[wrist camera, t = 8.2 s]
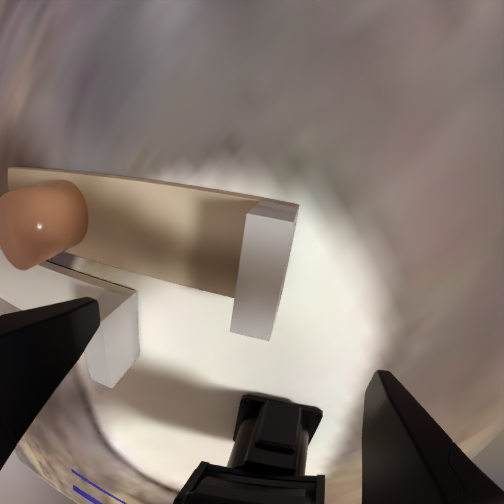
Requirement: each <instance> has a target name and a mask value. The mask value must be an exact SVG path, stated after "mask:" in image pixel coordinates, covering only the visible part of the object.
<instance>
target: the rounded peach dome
mask: <svg viewBox="0 0 504 504" xmlns="http://www.w3.org/2000/svg"><path fill="white" fill-rule="evenodd" d="M87 229H88V209H87V205H86V202H85V199H84V197H83V195H82V193H81V191H80V190H79V188H78V187H77V186H76V185H75V184H73V183H72V182H70V181H68V180H57V181H52V182H48V183H43V184H39V185H34V186H30V187H26V188H22V189H18V190H14V191H10V192H6V193H4V194H3V195H2V196H1V198H0V247H1V249H2V251H3V253H4V255H5V257H6V258H7V260H8V261H9V262H10V263H11V264H12V265H13V266H14V267H15V268H17V269H19V270H23V271H24V270H28V269H30V268H32V267H34V266H36V265H38V264H40V263H42V262H43V261H45V260H47V259H49V258H51V257H53V256H56V255H58V254H60V253H62V252H64V251H66V250H68V249H70V248H72V247H74V246H76V245H78V244H79V243H80V242H81V241H82V240H83V239H84V237H85V235H86V232H87Z"/></svg>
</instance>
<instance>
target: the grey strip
mask: <svg viewBox="0 0 504 504" xmlns="http://www.w3.org/2000/svg"><path fill="white" fill-rule="evenodd" d="M82 297H91V298H93V299H96V300H97V301H98V303H99V310H100V319H101V322H100V326H99V328H98V330H97V331H96V333H95V334H94V336H93V338H92V339H91V341H90V342H89V344H88V345H87V347H86V349H85V350H84V351H85V356H86V361H87V366H88V370H89V374H90V379H92V380H94V381H96V382H98V383H100V384H103V385H105V386H107V387H109V388H111V389H112V388H113V387H114V386H115V385H116V384H117V382H118V381H119V380H120V379H121V377H122V376H123V375H124V374H125V373H126V371H127V370H128V369H129V368H130V367H131V365H132V364H133V363H134V362H135V361H136V359H137V358H138V357H139V356H140V348H139V332H138V311H137V291H135V290H131V289H128V288H125V287H121V286H118V285H115V284H112V283H109V282H106V281H102V280H99V279H96V278H93V277H90V276H87V275H84V274H81V273H78V272H75V271H72V270H69V269H67V268H64V267H61V266H58V265H55V264H52V263H50V262H47V261H43V262H42V263H40V264H38V265H36V266H34V267H32V268H30V269H28V270H24V271H23V270H19V269H17V268H15V267H14V266H13V265H12V264H11V263H10V262H9V261H8V260H7V258H6V257H5V255H4V253H3V251H2V249H1V247H0V298H2V299H4V300H5V301H7V302H9V303H11V304H12V305H14V306H16V307H18V308H19V309H21V310H27V309H32V308H37V307H41V306H46V305H50V304H55V303H60V302H64V301H69V300H73V299H78V298H82Z"/></svg>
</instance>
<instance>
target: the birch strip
mask: <svg viewBox="0 0 504 504" xmlns="http://www.w3.org/2000/svg"><path fill="white" fill-rule="evenodd" d="M57 180H68V181H70V182H72V183H73V184H75V185H76V186H77V187H78V188H79V190H80V191H81V193H82V195H83V197H84V199H85V202H86V205H87V209H88V229H87V232H86V235H85V237H84V239H83V240H82V241H81V242H80V243H79V244H78V245H76V246H74V247H72V248H70V249H68V250H66V251H64V252H67V253H70V254H73V255H76V256H80V257H83V258H86V259H90V260H93V261H96V262H100V263H103V264H107V265H110V266H114V267H117V268H121V269H124V270H128V271H131V272H135V273H138V274H142V275H146V276H149V277H153V278H157V279H161V280H164V281H168V282H172V283H176V284H180V285H184V286H188V287H191V288H195V289H199V290H203V291H208V292H212V293H216V294H220V295H224V296H228V297H232V298H235V299H234V306H233V313H232V320H231V328H230V332H233V333H237V334H241V335H245V336H249V337H254V338H258V339H262V340H267V341H269V340H270V337H271V333H272V329H273V326H274V322H275V318H276V314H277V311H278V307H279V303H280V299H281V294H282V290H283V285H284V280H285V275H286V270H287V266H288V261H289V256H290V251H291V246H292V241H293V235H294V230H295V225H296V220H297V215H298V209H299V205H298V204H293V203H288V202H283V201H278V200H272V199H267V198H262V197H256V196H251V195H245V194H239V193H233V192H228V191H222V190H215V189H209V188H203V187H196V186H190V185H183V184H176V183H169V182H162V181H155V180H148V179H140V178H132V177H124V176H115V175H107V174H97V173H88V172H78V171H67V170H56V169H44V168H30V167H11V168H8V192H10V191H14V190H18V189H22V188H26V187H30V186H34V185H39V184H43V183H48V182H52V181H57Z"/></svg>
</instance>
